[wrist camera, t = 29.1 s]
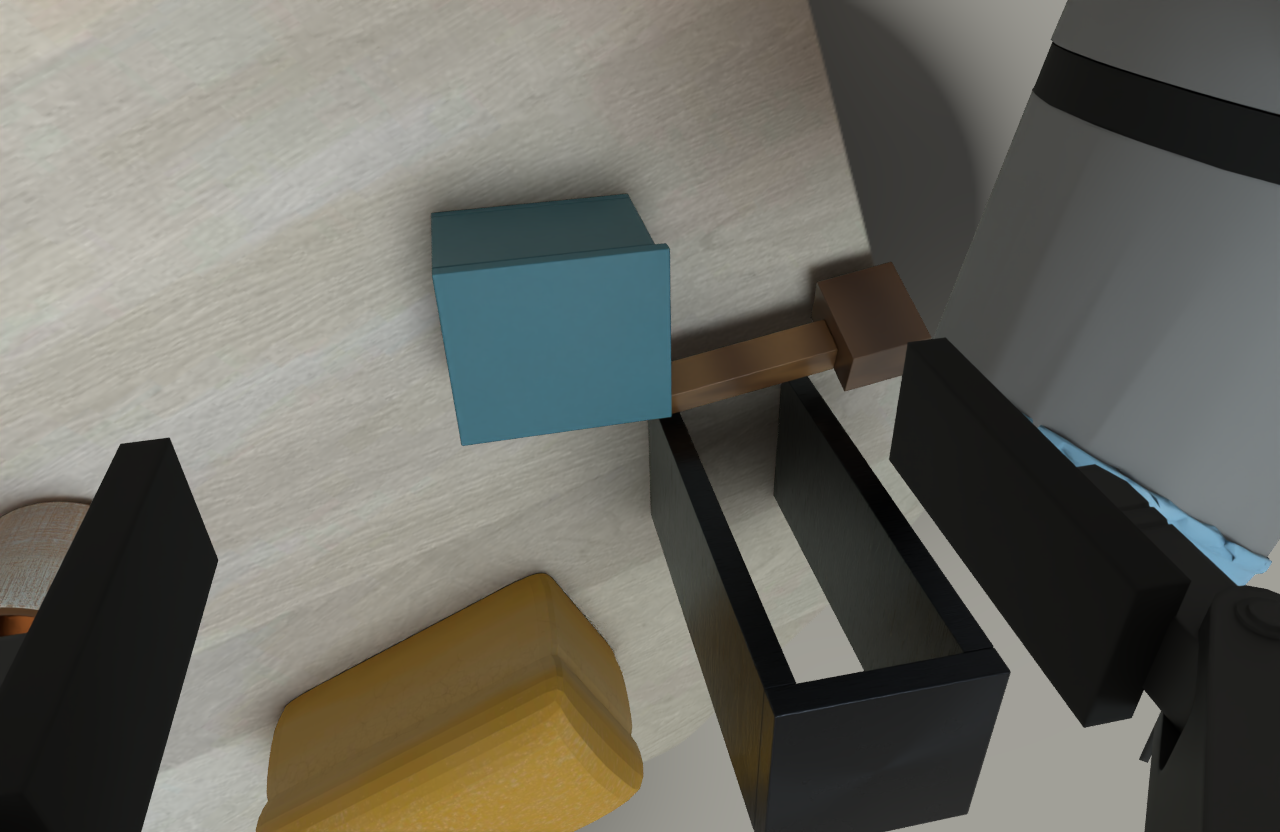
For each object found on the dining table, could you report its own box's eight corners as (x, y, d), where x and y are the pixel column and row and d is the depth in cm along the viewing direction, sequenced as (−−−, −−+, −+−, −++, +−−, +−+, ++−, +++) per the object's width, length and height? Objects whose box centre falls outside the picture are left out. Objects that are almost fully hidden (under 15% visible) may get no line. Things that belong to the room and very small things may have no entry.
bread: (373, 782, 77) (363, 964, 64) (272, 706, 69) (239, 895, 57) (621, 656, 74) (659, 821, 62) (543, 563, 67) (569, 729, 54)
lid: (666, 242, 46) (670, 248, 45) (668, 409, 52) (672, 417, 51) (431, 268, 44) (431, 274, 44) (461, 438, 50) (461, 446, 49)
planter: (173, 620, 63) (137, 733, 55) (-5, 619, 60) (-70, 739, 52) (163, 498, 57) (121, 605, 49) (-34, 491, 54) (-112, 603, 46)
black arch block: (802, 368, 62) (1011, 671, 40) (792, 492, 68) (968, 814, 46) (647, 388, 60) (774, 716, 38) (650, 514, 66) (762, 858, 44)
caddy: (627, 193, 52) (655, 243, 46) (633, 347, 58) (658, 411, 52) (431, 212, 51) (431, 267, 44) (457, 369, 56) (461, 438, 50)
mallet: (880, 297, 60) (891, 260, 56) (918, 371, 57) (932, 337, 53) (637, 365, 59) (633, 331, 55) (663, 443, 56) (660, 413, 52)
